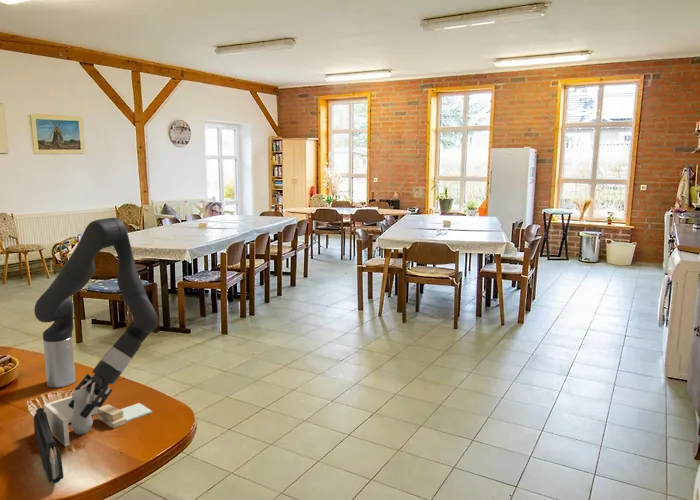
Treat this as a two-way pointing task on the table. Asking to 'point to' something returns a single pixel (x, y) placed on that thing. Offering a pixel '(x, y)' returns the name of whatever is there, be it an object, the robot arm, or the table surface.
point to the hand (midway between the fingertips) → (76, 412)
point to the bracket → (62, 418)
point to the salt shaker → (78, 422)
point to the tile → (135, 411)
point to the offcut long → (112, 424)
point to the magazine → (47, 447)
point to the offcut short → (110, 412)
